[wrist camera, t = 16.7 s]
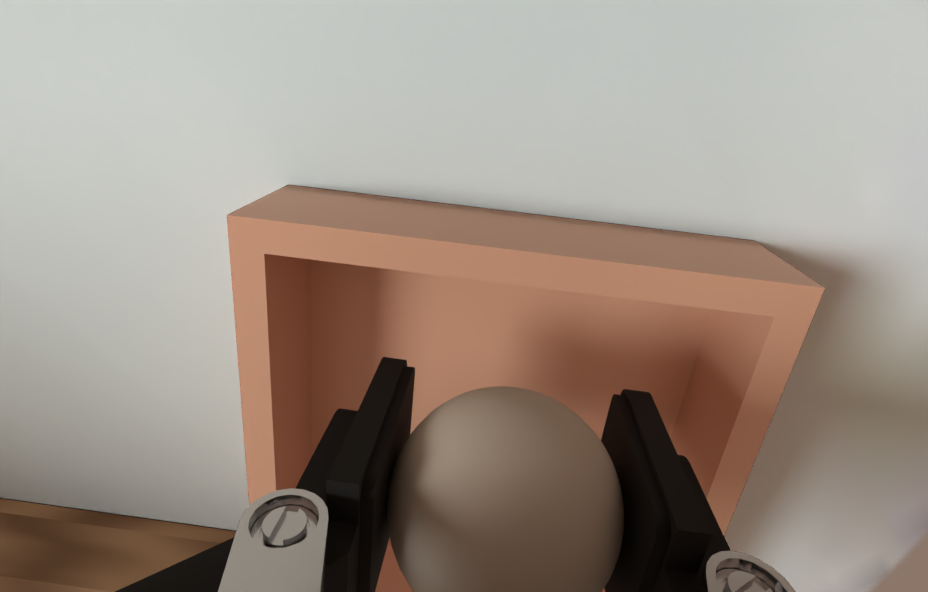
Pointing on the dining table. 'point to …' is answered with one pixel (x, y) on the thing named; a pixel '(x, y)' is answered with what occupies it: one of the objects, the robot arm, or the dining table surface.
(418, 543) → the beige ball
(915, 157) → the dining table surface
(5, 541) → the walnut tray
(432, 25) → the dining table surface
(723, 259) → the terracotta dish
